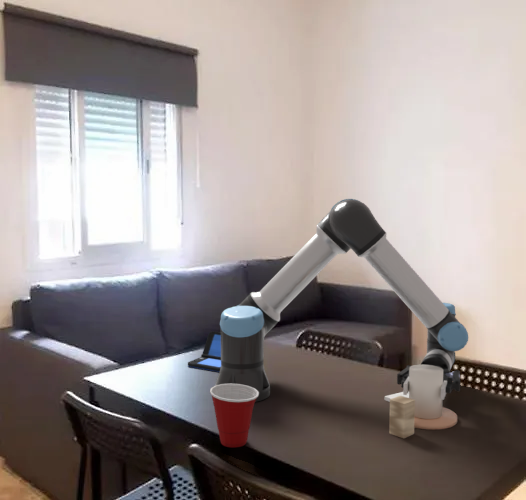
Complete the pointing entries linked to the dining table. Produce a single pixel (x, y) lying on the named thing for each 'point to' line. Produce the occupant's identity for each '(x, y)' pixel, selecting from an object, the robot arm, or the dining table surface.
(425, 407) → the white pillar candle
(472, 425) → the dining table surface
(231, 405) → the plastic cup
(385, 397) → the white square pad
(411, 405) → the beech block
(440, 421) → the peach round disc
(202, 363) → the handheld game console
